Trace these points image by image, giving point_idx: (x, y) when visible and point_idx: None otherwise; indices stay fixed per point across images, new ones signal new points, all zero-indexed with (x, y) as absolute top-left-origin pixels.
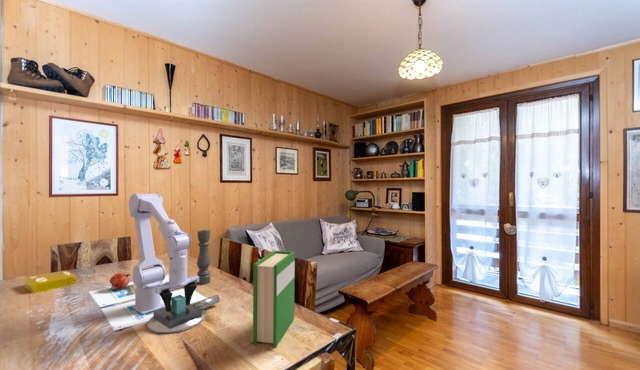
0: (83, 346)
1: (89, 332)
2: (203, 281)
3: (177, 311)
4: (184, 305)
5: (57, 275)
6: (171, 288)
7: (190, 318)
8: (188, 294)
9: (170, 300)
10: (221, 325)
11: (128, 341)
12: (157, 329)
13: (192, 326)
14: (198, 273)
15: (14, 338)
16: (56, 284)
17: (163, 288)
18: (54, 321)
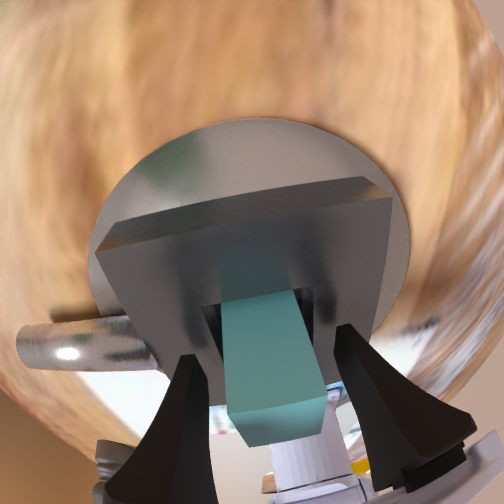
0: (499, 275)
1: (456, 339)
2: (113, 450)
3: (294, 308)
4: (233, 346)
5: None
6: (378, 501)
7: (204, 209)
8: (187, 437)
9: (385, 395)
10: (49, 49)
11: (469, 223)
12: (401, 225)
13: (213, 123)
14: None
15: (483, 359)
16: (358, 466)
17: (477, 478)
18: (435, 395)
